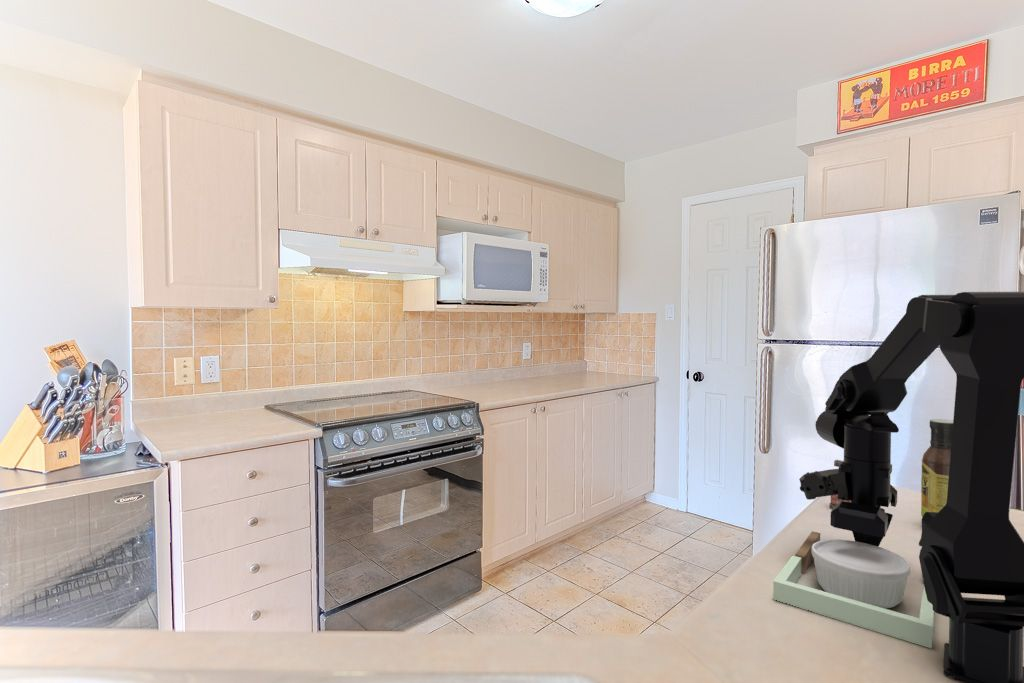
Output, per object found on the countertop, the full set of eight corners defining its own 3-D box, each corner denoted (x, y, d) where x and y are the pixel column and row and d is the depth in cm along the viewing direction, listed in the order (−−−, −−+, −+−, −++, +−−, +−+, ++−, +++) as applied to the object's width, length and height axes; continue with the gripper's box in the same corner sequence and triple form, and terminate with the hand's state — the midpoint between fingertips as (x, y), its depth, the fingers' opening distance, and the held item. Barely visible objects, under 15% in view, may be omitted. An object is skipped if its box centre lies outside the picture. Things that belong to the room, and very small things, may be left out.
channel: (932, 608, 67) (932, 583, 67) (794, 571, 78) (795, 550, 77) (935, 575, 76) (935, 553, 76) (811, 546, 87) (812, 527, 87)
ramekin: (817, 566, 79) (818, 532, 79) (910, 589, 72) (911, 551, 72) (804, 596, 70) (804, 557, 70) (908, 625, 63) (909, 581, 63)
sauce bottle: (926, 521, 98) (928, 416, 98) (969, 531, 93) (971, 420, 93) (916, 529, 94) (918, 419, 94) (961, 540, 89) (963, 424, 89)
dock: (931, 648, 59) (932, 626, 59) (773, 599, 69) (773, 581, 69) (934, 610, 67) (935, 591, 67) (792, 572, 77) (792, 555, 77)
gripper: (817, 439, 89) (816, 530, 90) (790, 460, 75) (789, 568, 75) (898, 449, 82) (896, 547, 82) (885, 475, 68) (883, 593, 68)
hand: (864, 562), depth 77 cm, fingers closed
